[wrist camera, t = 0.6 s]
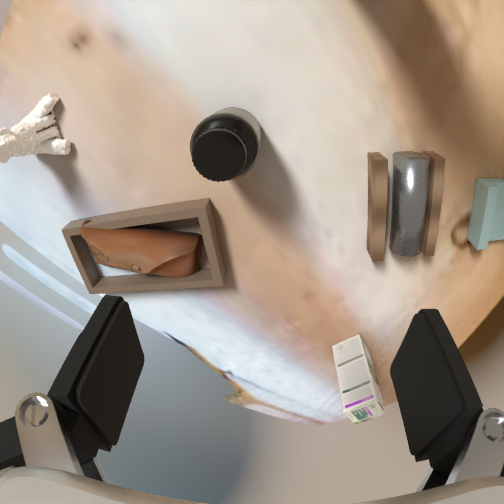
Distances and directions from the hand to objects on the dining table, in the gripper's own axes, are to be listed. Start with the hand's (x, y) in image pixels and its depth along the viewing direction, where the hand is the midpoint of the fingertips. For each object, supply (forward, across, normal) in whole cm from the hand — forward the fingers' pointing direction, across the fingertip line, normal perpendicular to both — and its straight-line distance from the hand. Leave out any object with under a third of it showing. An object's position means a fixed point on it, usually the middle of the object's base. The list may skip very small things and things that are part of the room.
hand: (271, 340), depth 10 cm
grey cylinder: (+32, -18, +6) cm, 37 cm away
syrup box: (+32, -17, +35) cm, 50 cm away
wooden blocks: (+31, -18, +7) cm, 37 cm away
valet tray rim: (+31, +18, +16) cm, 39 cm away
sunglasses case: (+31, +18, +16) cm, 39 cm away
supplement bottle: (+32, +4, -1) cm, 32 cm away
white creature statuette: (+32, +32, -3) cm, 45 cm away
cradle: (+31, -36, +6) cm, 48 cm away
